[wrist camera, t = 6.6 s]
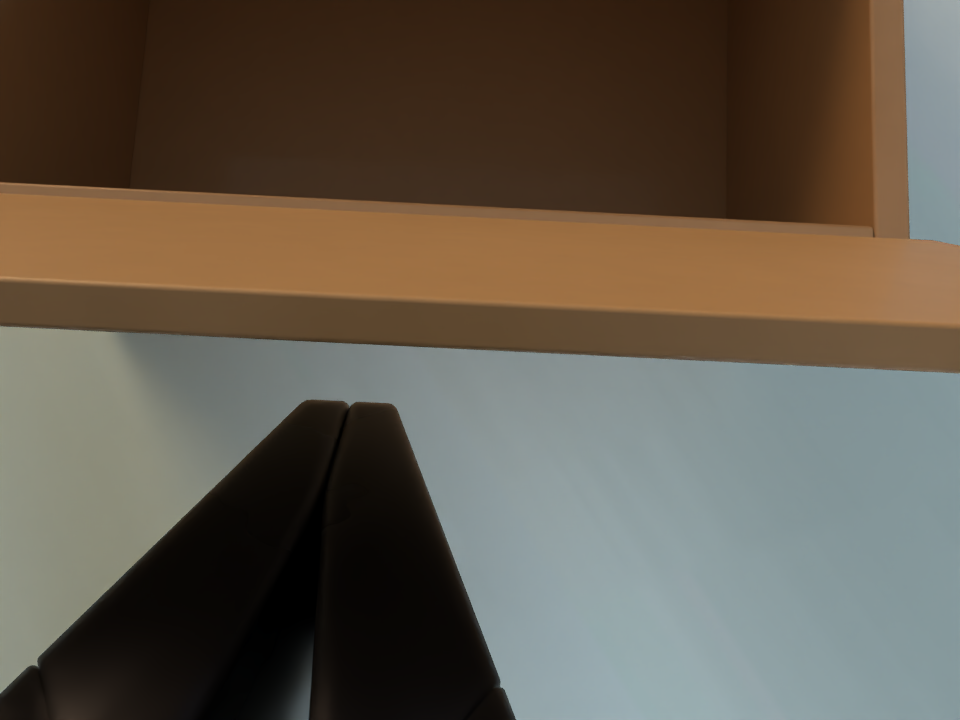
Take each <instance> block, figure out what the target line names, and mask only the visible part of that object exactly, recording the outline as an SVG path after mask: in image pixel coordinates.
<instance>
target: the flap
mask: <svg viewBox="0 0 960 720" xmlns="http://www.w3.org/2000/svg"><path fill="white" fill-rule="evenodd" d="M0 326H6V327H26V328H46V329H67V330H87V331H107V332H128V333H148V334H169V335H189V336H209V337H230V338H250V339H271V340H291V341H311V342H332V343H352V344H372V345H393V346H413V347H434V348H454V349H474V350H495V351H515V352H535V353H556V354H576V355H597V356H617V357H637V358H658V359H678V360H698V361H719V362H739V363H760V364H780V365H800V366H821V367H841V368H861V369H882V370H902V371H923V372H943V373H960V246H958V245H953V244H948V243H943V242H938V241H933V240H914V239H895V238H875V237H855V236H835V235H816V234H796V233H776V232H756V231H736V230H717V229H697V228H677V227H657V226H637V225H618V224H598V223H578V222H558V221H539V220H519V219H499V218H479V217H459V216H440V215H420V214H400V213H380V212H360V211H341V210H321V209H301V208H281V207H262V206H242V205H222V204H202V203H182V202H163V201H143V200H123V199H103V198H83V197H64V196H44V195H24V194H4V193H0Z"/></svg>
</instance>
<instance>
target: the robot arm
mask: <svg viewBox="0 0 960 720" xmlns="http://www.w3.org/2000/svg"><path fill="white" fill-rule="evenodd" d="M37 662H38V667H37V666H34V665H31V666H29V667H27V668H26V669H25V670H24V671H23V672H22V673H21V674H20V675H19V676H18V677H17V678H16V679H15V680H14V681H13V682H12V683H11V684H10V685H9V686H8V687H7V688H6V689H5V690H4V691H3V692H1V693H0V720H516V719H515V716H514V713H513V711H512V708H511V706H510V703H509V700H508V698H507V695H506V693H505V690H504V689H503V688H501V687H500V678H499V676H498V673H497V670H496V668H495V665H494V662H493V660H492V657H491V655H490V652H489V649H488V647H487V644H486V642H485V639H484V636H483V634H482V631H481V628H480V626H479V623H478V621H477V618H476V615H475V613H474V610H473V607H472V605H471V602H470V600H469V597H468V594H467V592H466V589H465V586H464V584H463V581H462V579H461V576H460V573H459V571H458V568H457V565H456V563H455V560H454V558H453V555H452V552H451V550H450V547H449V544H448V542H447V539H446V537H445V534H444V531H443V529H442V526H441V523H440V521H439V518H438V516H437V513H436V510H435V508H434V505H433V502H432V500H431V497H430V495H429V492H428V489H427V487H426V484H425V481H424V479H423V476H422V474H421V471H420V468H419V466H418V463H417V460H416V458H415V455H414V453H413V450H412V447H411V445H410V442H409V439H408V437H407V434H406V432H405V429H404V426H403V424H402V421H401V419H400V416H399V413H398V411H397V409H396V407H395V406H394V405H392V404H389V403H370V402H356V403H354V404H352V405H351V406H350V408H349V406H348V404H347V403H345V402H343V401H330V400H306V401H304V402H302V403H301V404H300V405H299V406H298V407H297V408H295V409H294V410H293V411H292V412H291V413H290V414H289V415H288V416H287V417H286V418H285V419H284V420H283V421H282V422H281V423H280V424H279V425H278V426H277V427H276V428H275V429H274V430H273V431H272V432H271V433H270V434H269V435H268V436H267V437H266V438H264V439H263V440H262V441H261V442H260V443H259V444H258V445H257V446H256V447H255V448H254V449H253V450H252V451H251V452H250V453H249V454H248V455H247V456H246V457H245V458H244V459H243V460H242V461H241V462H240V463H239V464H238V465H237V466H236V467H235V468H233V469H232V470H231V471H230V472H229V473H228V474H227V475H226V476H225V477H224V478H223V479H222V480H221V481H220V482H219V483H218V484H217V485H216V486H215V487H214V488H213V489H212V490H211V491H210V492H209V493H208V494H207V495H206V496H205V497H204V498H202V499H201V500H200V501H199V502H198V503H197V504H196V505H195V506H194V507H193V508H192V509H191V510H190V511H189V512H188V513H187V514H186V515H185V516H184V517H183V518H182V519H181V520H180V521H179V522H178V523H177V524H176V525H175V526H174V527H173V528H172V529H170V530H169V531H168V532H167V533H166V534H165V535H164V536H163V537H162V538H161V539H160V540H159V541H158V542H157V543H156V544H155V545H154V546H153V547H152V548H151V549H150V550H149V551H148V552H147V553H146V554H145V555H144V556H143V557H142V558H141V559H139V560H138V561H137V562H136V563H135V564H134V565H133V566H132V567H131V568H130V569H129V570H128V571H127V572H126V573H125V574H124V575H123V576H122V577H121V578H120V579H119V580H118V581H117V582H116V583H115V584H114V585H113V586H112V587H111V588H110V589H108V590H107V591H106V592H105V593H104V594H103V595H102V596H101V597H100V598H99V599H98V600H97V601H96V602H95V603H94V604H93V605H92V606H91V607H90V608H89V609H88V610H87V611H86V612H85V613H84V614H83V615H82V616H81V617H80V618H79V619H77V620H76V621H75V622H74V623H73V624H72V625H71V626H70V627H69V628H68V629H67V630H66V631H65V632H64V633H63V634H62V635H61V636H60V637H59V638H58V639H57V640H56V641H55V642H54V643H53V644H52V645H51V646H50V647H49V648H48V649H46V650H45V651H44V652H43V653H42V654H41V655H40V656H39V658H38V660H37Z"/></svg>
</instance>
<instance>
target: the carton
mask: <svg viewBox="0 0 960 720" xmlns="http://www.w3.org/2000/svg"><path fill="white" fill-rule="evenodd" d="M0 193H4V194H24V195H44V196H64V197H83V198H103V199H123V200H143V201H163V202H182V203H202V204H222V205H242V206H262V207H281V208H301V209H321V210H341V211H360V212H380V213H400V214H420V215H440V216H459V217H479V218H499V219H519V220H539V221H558V222H578V223H598V224H618V225H637V226H657V227H677V228H697V229H717V230H736V231H756V232H776V233H796V234H816V235H835V236H855V237H875V238H895V239H910V235H909V197H908V160H907V122H906V84H905V47H904V9H903V0H0Z"/></svg>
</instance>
